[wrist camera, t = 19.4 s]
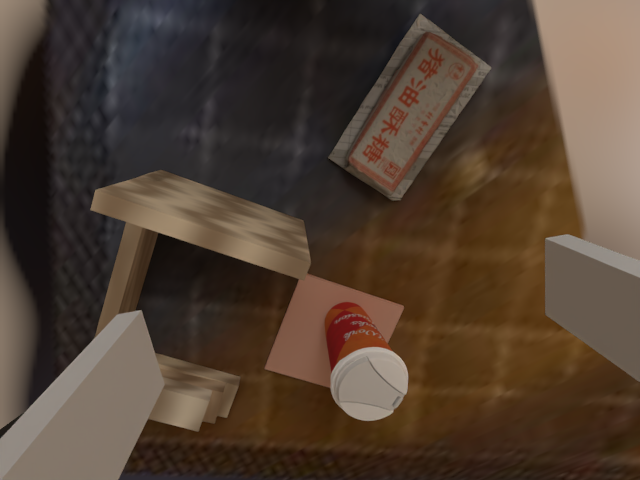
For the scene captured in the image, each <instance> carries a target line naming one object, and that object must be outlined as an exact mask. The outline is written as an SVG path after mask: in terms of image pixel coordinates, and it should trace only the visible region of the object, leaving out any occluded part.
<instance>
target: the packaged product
mask: <svg viewBox="0 0 640 480" xmlns="http://www.w3.org/2000/svg"><path fill="white" fill-rule="evenodd" d="M490 70H491V67H490V66H489V65H487V64H486V63H485V62H484V61H482V60H481V59H480V58H478V57H477V56H475V55H474V54H473V53H472V52H471V51H469V50H468V49H466V48H465V47H464V46H462V45H461V44H459V43H458V42H457V41H455V40H454V39H453V38H452V37H450V36H449V35H448V34H447V33H445V32H444V31H443V30H442V29H440V28H439V27H438V26H436V25H435V24H434V23H432V22H431V21H430V20H428V19H426V18H425V17H424V16H423V15H422V14H419V16H418V17H417V19H416V20H415V22H414V23H413V25H412V26H411V28H410V29H409V31H408V32H407V34H406V35H405V37H404V38H403V39H402V41H401V42H400V44H399V45H398V47H397V48H396V50H395V52H394V54H393V55H392V57H391V59H390V60H389V62H388V64H387V65H386V67H385V69H384V70H383V72H382V73H381V75H380V77H379V78H378V80H377V82H376V83H375V85H374V86H373V88H372V89H371V90H370V92H369V93H368V95H367V96H366V97H365V99H364V101H363V102H362V104H361V105H360V107H359V109H358V111H357V113H356V114H355V116H354V117H353V118H352V120H351V122H350V123H349V125H348V126H347V128H346V129H345V131H344V132H343V134H342V136H341V138H340V139H339V141H338V143H337V145H336V146H335V148H334V149H333V151H332V152H331V154H330V155H329V156H328V158H329V159H330V160H332V161H333V162H335V163H336V164H337V165H339V166H340V167H342V168H343V169H345V170H346V171H348V172H349V173H350V174H352V175H353V176H355V177H357V178H358V179H360V180H361V181H363V182H365V183H366V184H368V185H369V186H371V187H373V188H374V189H376V190H377V191H379V192H380V193H382V194H383V195H385V196H386V197H388V198H389V199H390V200H392V201H396V200H401V199H402V197H403V195H404V193H405V192H406V191H407V189H408V188H409V186H410V185H411V184H412V182H413V181H414V179H415V178H416V176H417V175H418V173H419V172H420V170H421V169H422V168H423V166H424V164H425V163H426V162H427V160H428V159H429V157H430V156H431V154H432V153H433V151H434V150H435V149H436V148H437V146H438V145H439V143H440V142H441V140H442V138H443V137H444V136H445V134H446V133H447V132H448V130H449V128H450V127H451V126H452V124H453V123H454V121H455V120H456V118H457V117H458V115H459V114H460V112H461V111H462V110H463V108H464V107H465V105H466V104H467V103H468V101H469V100H470V98H471V97H472V95H473V94H474V93H475V91H476V90H477V88H478V87H479V85H480V84H481V83H482V81H483V79H484V78H485V76H486V75H487V73H488V72H489V71H490Z"/></svg>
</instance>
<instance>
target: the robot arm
mask: <svg viewBox="0 0 640 480" xmlns="http://www.w3.org/2000/svg"><path fill="white" fill-rule="evenodd" d="M545 315H547V316H548V317H549V318H551V319H552V320H554V321H555V322H556V323H558V324H559V325H561V326H562V327H563V328H565V329H566V330H568V331H569V332H570V333H572V334H573V335H575V336H576V337H577V338H579V339H580V340H582V341H583V342H584V343H586V344H587V345H589V346H590V347H591V348H593V349H594V350H596V351H597V352H598V353H600V354H601V355H603V356H604V357H605V358H607V359H608V360H610V361H611V362H612V363H614V364H615V365H617V366H618V367H620V368H621V369H622V370H624V371H625V372H627V373H628V374H629V375H631V376H632V377H634V378H635V379H636V380H638V381H639V382H640V261H639V260H636V259H634V258H631V257H628V256H626V255H623V254H620V253H617V252H614V251H612V250H609V249H606V248H604V247H601V246H598V245H596V244H593V243H590V242H588V241H585V240H582V239H579V238H577V237H574V236H571V235H568V234H567V235H561V236H556V237H550V238H545ZM164 385H165V384H164V381H163V377H162V374H161V371H160V368H159V365H158V361H157V358H156V355H155V352H154V349H153V345H152V342H151V339H150V336H149V332H148V329H147V326H146V323H145V320H144V316H143V313H142V310H139V311H133V312H128V313H122V314H117V315H116V316H115V317H114V318H113V319H112V320H111V321H110V323H109V324H108V325H107V326H106V327H105V328H104V329H103V330H102V331H101V332H100V333H99V334H98V335H97V336H96V337H95V339H94V340H93V341H92V342H91V343H90V344H89V345H88V346H87V347H86V348H85V349H84V350H83V351H82V352H81V353H80V354H79V356H78V357H77V358H76V359H75V360H74V361H73V362H72V363H71V364H70V365H69V366H68V367H67V368H66V369H65V370H64V371H63V373H62V374H61V375H60V376H59V377H58V378H57V379H56V380H55V381H54V382H53V383H52V384H51V385H50V386H49V387H48V389H47V390H46V391H45V392H44V393H43V394H42V395H41V396H40V397H39V398H38V399H37V400H36V401H35V402H34V403H33V404H32V406H31V407H30V408H29V409H28V410H27V411H26V412H25V413H23V414H21V415H20V416H18V417H17V418H16V419H14V420H13V421H11V422H10V423H9V424H7V425H6V426H5V427H3V428H2V429H0V480H118V479H119V477H120V474H121V472H122V470H123V468H124V466H125V464H126V462H127V460H128V458H129V456H130V454H131V452H132V450H133V448H134V446H135V444H136V442H137V440H138V438H139V436H140V434H141V432H142V430H143V428H144V426H145V424H146V422H147V420H148V417H149V415H150V413H151V411H152V409H153V407H154V405H155V403H156V401H157V399H158V397H159V395H160V393H161V391H162V389H163V387H164Z"/></svg>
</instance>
